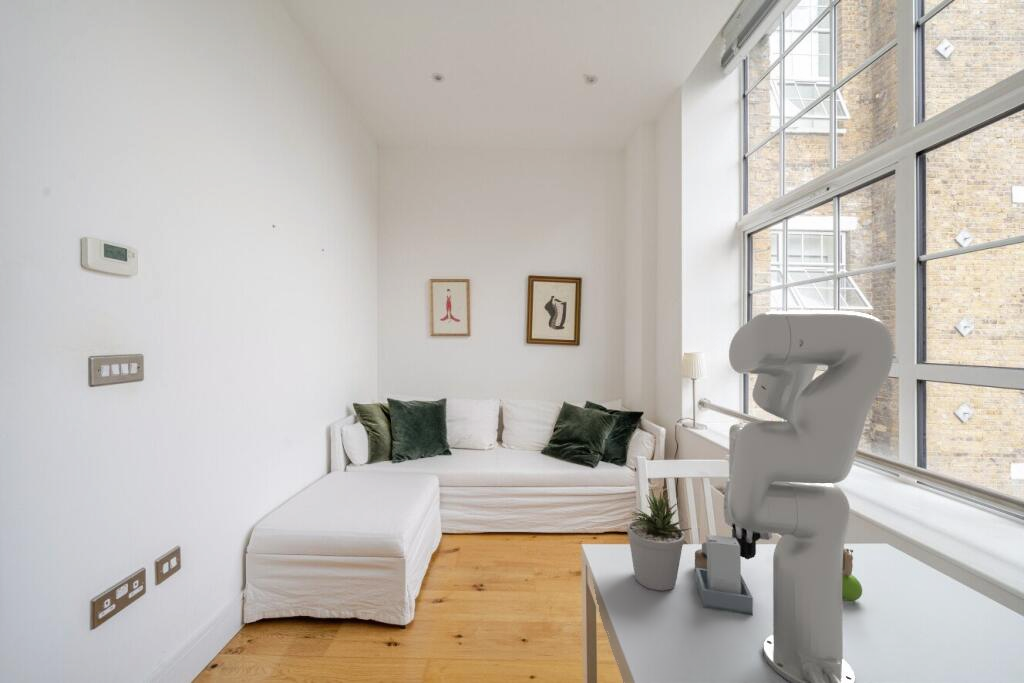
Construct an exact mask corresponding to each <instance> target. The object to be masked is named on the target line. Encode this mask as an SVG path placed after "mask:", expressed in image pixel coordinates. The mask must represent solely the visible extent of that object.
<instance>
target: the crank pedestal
mask: <svg viewBox="0 0 1024 683" xmlns="http://www.w3.org/2000/svg"><path fill="white" fill-rule="evenodd" d="M696 568H702V569H707V558H705V557H704V556H703V555H702V548H700V549H697V550H696V551H695V552H694V573H696Z"/></svg>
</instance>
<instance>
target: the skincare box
mask: <svg viewBox="0 0 1024 683" xmlns="http://www.w3.org/2000/svg"><path fill="white" fill-rule="evenodd" d="M706 542H707V584H708V590H715V591H721V592H728V593H734V594H741V576H742V574H741V573H742V571H741V568H742V567H741V565H742V564H741V563H742V562H741V556H740V545H739V543H738V541H737V539H736V538H732V536H731V537H730V536H722V535H714V534H713V535H712V534H706Z"/></svg>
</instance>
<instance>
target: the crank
mask: <svg viewBox="0 0 1024 683" xmlns="http://www.w3.org/2000/svg"><path fill="white" fill-rule="evenodd" d="M731 538H736V539H737V541H738V543H739V538H738V537H737V534H736V532H735V530H734V529H733V528H732V529H731ZM701 549H702V555H703V556H704V557H705V558H707V541H706V542H703V543H702V544H701Z"/></svg>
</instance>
